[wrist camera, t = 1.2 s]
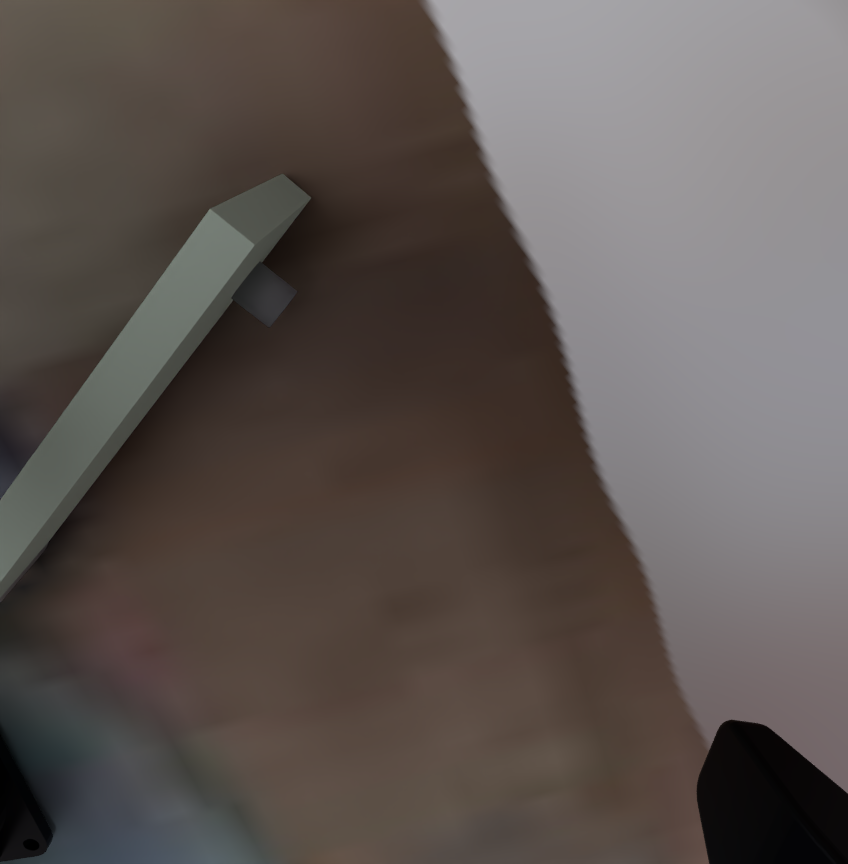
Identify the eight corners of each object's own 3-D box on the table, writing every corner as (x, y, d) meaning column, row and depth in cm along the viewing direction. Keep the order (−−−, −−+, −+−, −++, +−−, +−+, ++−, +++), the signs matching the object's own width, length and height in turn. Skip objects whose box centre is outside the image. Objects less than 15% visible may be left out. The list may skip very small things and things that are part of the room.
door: (67, 579, 22) (-78, 774, 15) (7, 541, 21) (-168, 726, 15) (347, 226, 18) (307, 290, 12) (282, 171, 18) (203, 208, 11)
